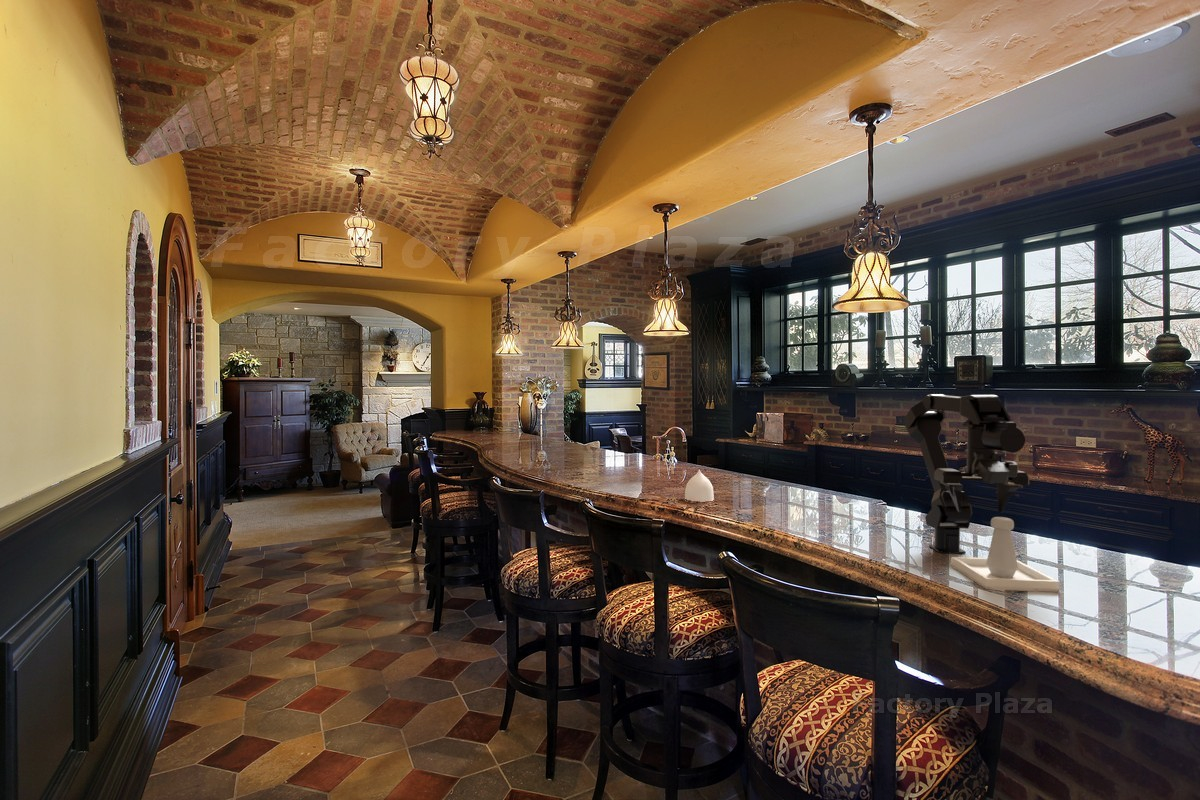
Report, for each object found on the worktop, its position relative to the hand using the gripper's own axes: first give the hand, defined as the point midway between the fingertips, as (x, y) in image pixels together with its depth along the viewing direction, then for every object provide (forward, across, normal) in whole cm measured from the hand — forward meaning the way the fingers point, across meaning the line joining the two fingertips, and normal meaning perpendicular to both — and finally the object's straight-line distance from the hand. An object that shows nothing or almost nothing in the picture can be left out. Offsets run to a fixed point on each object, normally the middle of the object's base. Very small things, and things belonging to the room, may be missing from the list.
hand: (979, 512), depth 139 cm
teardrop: (+15, -64, +73) cm, 98 cm away
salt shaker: (+12, 0, -10) cm, 16 cm away
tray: (+13, 0, -10) cm, 16 cm away
